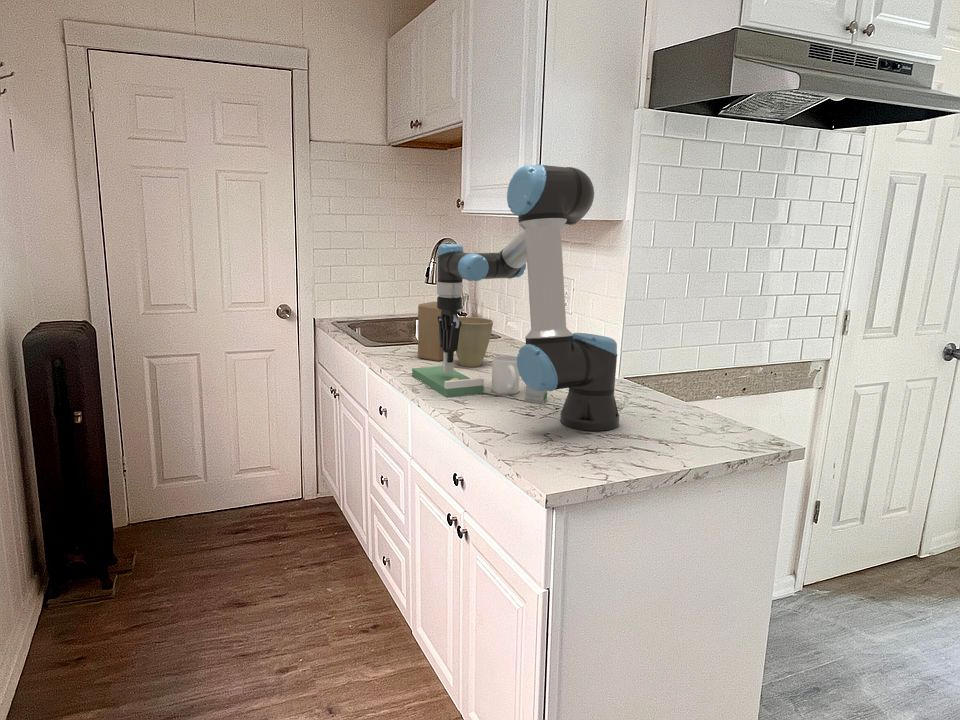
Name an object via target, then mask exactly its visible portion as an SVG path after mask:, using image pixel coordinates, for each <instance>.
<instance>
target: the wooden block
mask: <svg viewBox="0 0 960 720" xmlns="http://www.w3.org/2000/svg"><path fill="white" fill-rule="evenodd" d="M441 311H442V310H441V309H438V308H437V301H428V302H423V303H418V306H417V314H418V315H417V331H418V332H417V358H419V359H422V358H423V360H428V361H436V362H441V361H443V359H444V351H443V347H442V348H441V347H440V335H439V323H438V319H437V317H438V316H441Z"/></svg>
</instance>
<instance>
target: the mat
mask: <svg viewBox="0 0 960 720" xmlns="http://www.w3.org/2000/svg"><path fill="white" fill-rule="evenodd" d="M411 376H412V377H413V376H414V377H413V378H415V379H416V378H417V380H418V379H419V380H418V381H420V380H421V381H422V382H421V381H420V382H421V383H423V382H424V383H425V385H426V384H427V385H426V386H427V387H429V386H430V387H429V388H431V389H432V388H433V390H434V391H436V392H437V393H438V394H441V396H444V397H445V398H452V397H462V396H463V397H464V396H471V395H481V394H484V388H485V387H484V386H485V385H484V382H485V381H484V379H485V378H483V377H474V378H470V377H468V376H467V375H465V374H463V373H461V372H459V371H457V370H455V369H454V368H453V372H451V373H444V372H443V365H436V366H435V365H434V366H427V367H426V366H425V367H413V368H412V369H411ZM452 378H458V379H459V380H451V379H452ZM424 383H423V384H424Z"/></svg>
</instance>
